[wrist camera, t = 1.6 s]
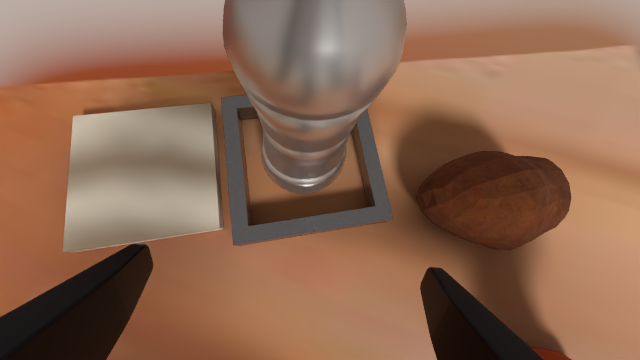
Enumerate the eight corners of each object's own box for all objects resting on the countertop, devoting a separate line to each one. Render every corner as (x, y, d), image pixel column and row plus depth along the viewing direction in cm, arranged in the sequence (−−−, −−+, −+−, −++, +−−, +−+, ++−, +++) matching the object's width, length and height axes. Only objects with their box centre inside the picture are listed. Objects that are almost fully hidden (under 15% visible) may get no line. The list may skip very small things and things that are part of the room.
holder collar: (385, 221, 23) (393, 218, 21) (238, 245, 21) (233, 245, 19) (356, 96, 26) (361, 83, 24) (227, 109, 24) (221, 97, 23)
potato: (537, 237, 24) (651, 229, 16) (419, 262, 22) (482, 267, 15) (507, 158, 26) (596, 118, 18) (395, 176, 24) (441, 141, 17)
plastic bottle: (258, 139, 24) (102, -319, 5) (329, 124, 25) (437, -305, 6) (274, 207, 22) (143, -62, 3) (349, 188, 23) (587, -105, 4)
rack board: (223, 229, 22) (219, 227, 20) (75, 252, 20) (62, 252, 19) (215, 109, 24) (210, 102, 23) (84, 122, 23) (73, 116, 22)
